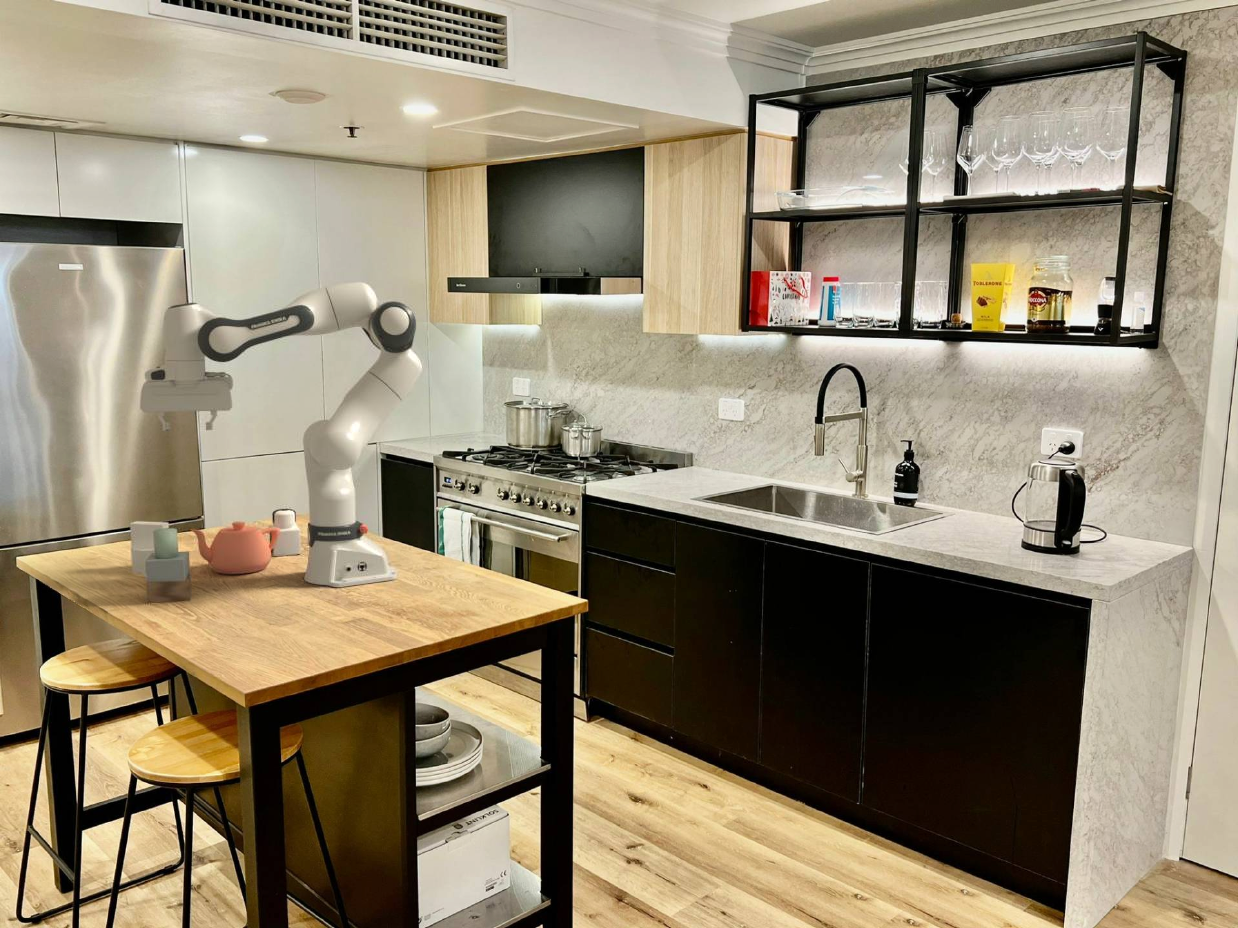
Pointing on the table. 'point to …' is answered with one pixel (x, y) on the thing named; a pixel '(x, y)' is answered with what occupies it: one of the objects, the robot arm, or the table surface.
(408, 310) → the robot arm
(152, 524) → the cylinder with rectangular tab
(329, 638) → the table surface
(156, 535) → the pale green cylinder
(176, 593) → the bottom block
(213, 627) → the table surface
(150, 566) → the top block
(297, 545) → the white bottle
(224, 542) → the teapot
